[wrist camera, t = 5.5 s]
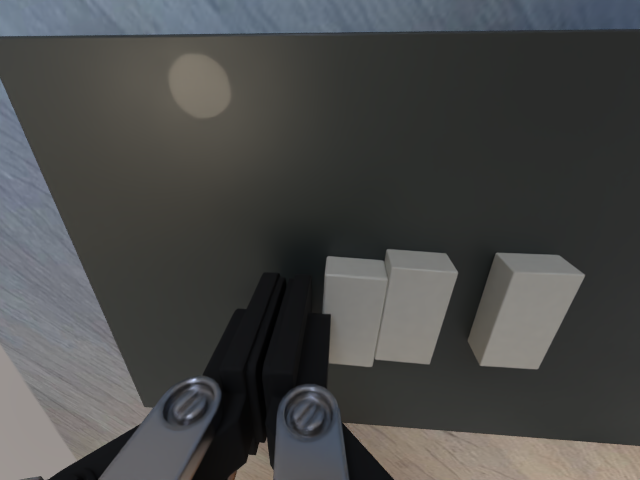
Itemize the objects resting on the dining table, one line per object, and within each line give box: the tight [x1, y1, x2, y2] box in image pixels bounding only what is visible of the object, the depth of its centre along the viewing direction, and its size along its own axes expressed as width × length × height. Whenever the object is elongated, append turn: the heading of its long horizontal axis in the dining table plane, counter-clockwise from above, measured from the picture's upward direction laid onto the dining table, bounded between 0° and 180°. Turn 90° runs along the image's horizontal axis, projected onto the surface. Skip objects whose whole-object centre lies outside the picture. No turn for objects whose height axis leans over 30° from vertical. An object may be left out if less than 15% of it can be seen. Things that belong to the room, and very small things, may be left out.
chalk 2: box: [374, 249, 458, 364], centre depth 10 cm, size 4×2×1 cm, turn 178°
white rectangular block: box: [468, 253, 585, 369], centre depth 10 cm, size 4×2×1 cm, turn 0°
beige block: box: [322, 256, 388, 367], centre depth 10 cm, size 4×2×1 cm, turn 177°
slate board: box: [0, 29, 640, 446], centre depth 12 cm, size 16×30×2 cm, turn 90°
